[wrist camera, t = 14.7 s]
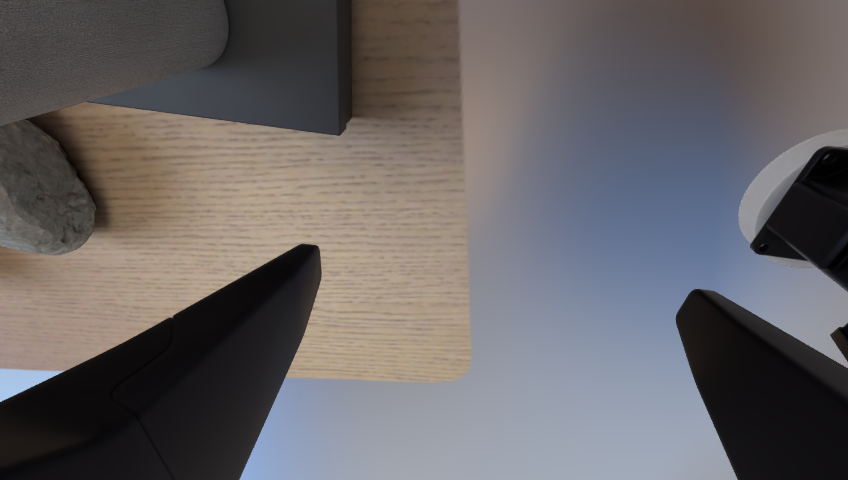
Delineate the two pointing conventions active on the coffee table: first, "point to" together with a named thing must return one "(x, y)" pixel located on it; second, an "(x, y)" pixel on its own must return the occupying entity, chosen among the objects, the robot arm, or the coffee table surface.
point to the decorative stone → (40, 194)
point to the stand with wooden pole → (267, 70)
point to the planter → (99, 48)
